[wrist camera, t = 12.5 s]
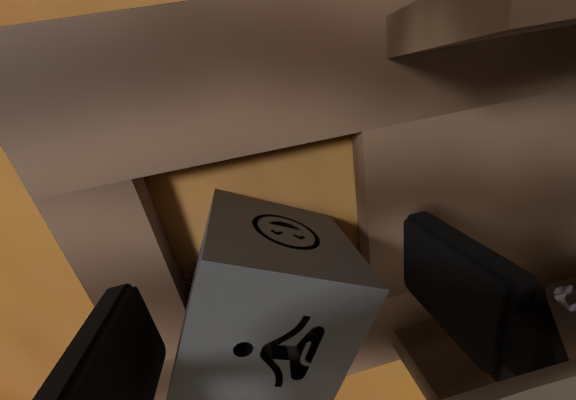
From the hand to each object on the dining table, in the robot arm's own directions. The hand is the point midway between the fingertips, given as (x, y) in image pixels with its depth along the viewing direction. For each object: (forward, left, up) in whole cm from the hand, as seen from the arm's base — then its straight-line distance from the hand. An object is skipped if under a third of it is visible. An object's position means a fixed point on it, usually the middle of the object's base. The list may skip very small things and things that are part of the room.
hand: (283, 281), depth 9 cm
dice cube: (0, -1, -3) cm, 3 cm away
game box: (0, +6, -3) cm, 7 cm away
